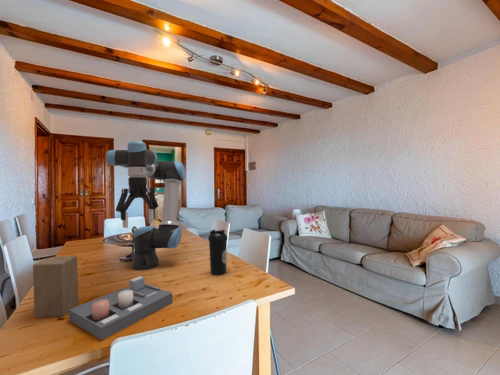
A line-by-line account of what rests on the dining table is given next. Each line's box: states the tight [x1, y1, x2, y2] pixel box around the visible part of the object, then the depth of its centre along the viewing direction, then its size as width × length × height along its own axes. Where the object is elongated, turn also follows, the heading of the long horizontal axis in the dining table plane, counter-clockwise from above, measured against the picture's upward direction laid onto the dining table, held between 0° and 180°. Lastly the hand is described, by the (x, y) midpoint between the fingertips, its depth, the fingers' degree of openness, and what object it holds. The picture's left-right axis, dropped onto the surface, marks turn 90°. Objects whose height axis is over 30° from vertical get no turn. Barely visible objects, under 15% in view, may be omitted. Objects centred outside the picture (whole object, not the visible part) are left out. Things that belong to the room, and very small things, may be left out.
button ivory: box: [118, 290, 133, 309], centre depth 93 cm, size 5×5×5 cm
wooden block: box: [32, 255, 79, 318], centre depth 96 cm, size 10×10×20 cm
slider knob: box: [129, 275, 146, 291], centre depth 106 cm, size 3×5×4 cm, turn 148°
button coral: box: [92, 299, 109, 321], centre depth 85 cm, size 5×5×5 cm
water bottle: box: [208, 229, 228, 276], centre depth 134 cm, size 10×10×23 cm
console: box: [68, 283, 173, 341], centre depth 95 cm, size 22×28×5 cm
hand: (138, 225), depth 111 cm, fingers open, 12 cm apart
